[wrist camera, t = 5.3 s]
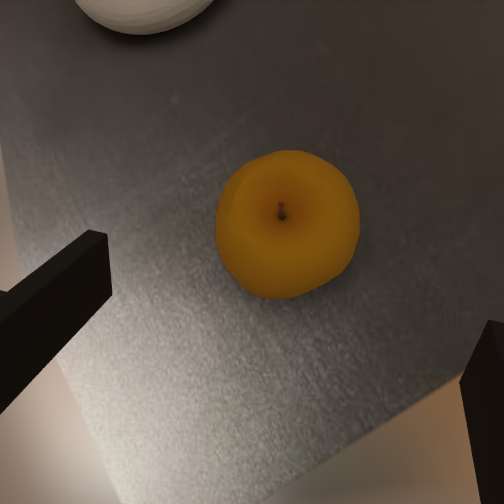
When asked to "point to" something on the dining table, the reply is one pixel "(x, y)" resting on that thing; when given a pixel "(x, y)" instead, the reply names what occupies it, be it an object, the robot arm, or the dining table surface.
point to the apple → (286, 224)
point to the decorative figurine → (142, 14)
